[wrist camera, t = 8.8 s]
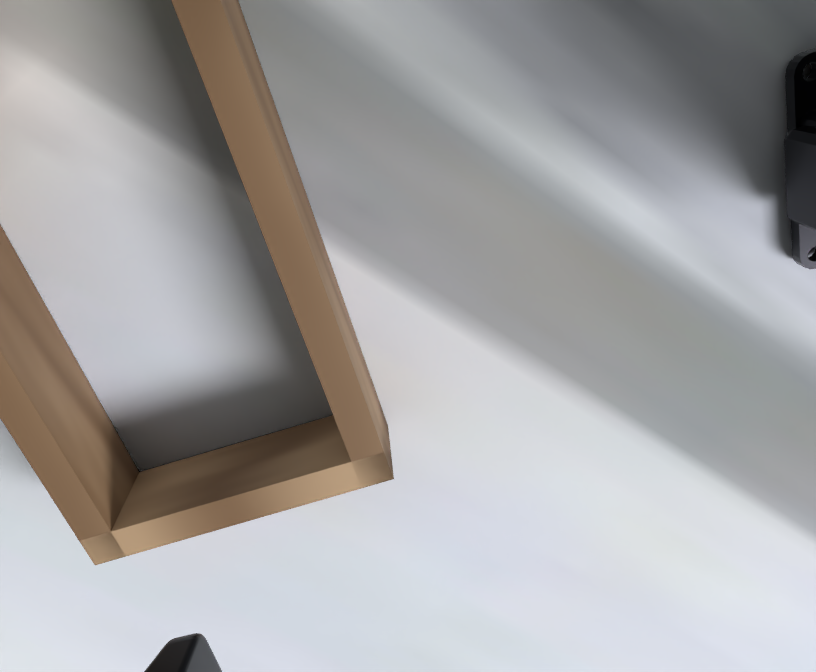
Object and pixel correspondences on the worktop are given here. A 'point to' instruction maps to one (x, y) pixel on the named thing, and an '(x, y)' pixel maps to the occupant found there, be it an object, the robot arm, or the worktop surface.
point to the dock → (232, 465)
